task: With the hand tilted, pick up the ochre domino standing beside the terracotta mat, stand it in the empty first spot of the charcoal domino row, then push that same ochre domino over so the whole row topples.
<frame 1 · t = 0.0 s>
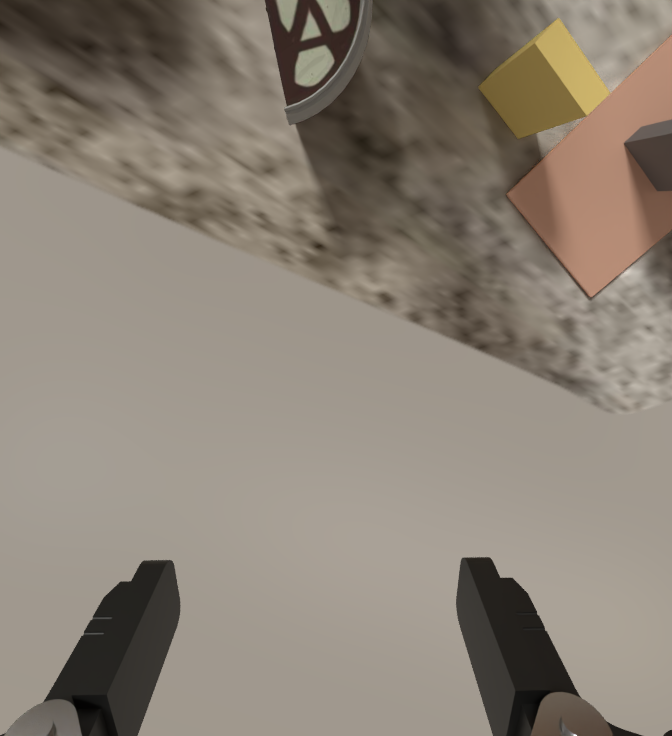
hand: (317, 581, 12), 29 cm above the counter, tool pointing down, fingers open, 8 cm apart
ochre domino: (506, 105, 34), on the counter
charcoal domino 2: (649, 159, 35), resting on terracotta mat
food container: (320, 41, 33), on the counter
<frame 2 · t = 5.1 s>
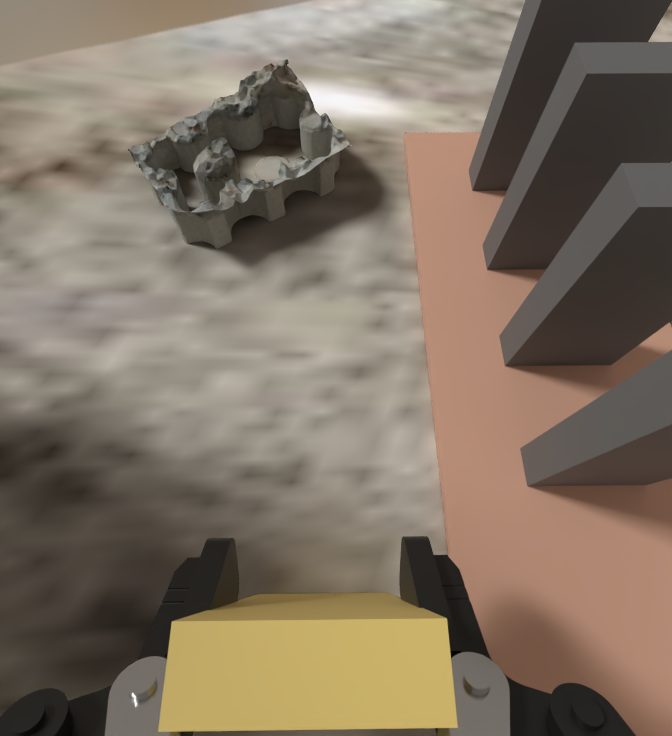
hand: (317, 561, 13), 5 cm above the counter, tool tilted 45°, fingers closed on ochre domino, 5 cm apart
egg carton: (251, 189, 26), on the counter
ochre domino: (322, 616, 17), on the counter, touching gripper
charcoal domino 2: (582, 466, 19), resting on terracotta mat
charcoal domino 4: (531, 257, 23), resting on terracotta mat
charcoal domino 5: (513, 180, 26), resting on terracotta mat
charcoal domino 3: (554, 350, 21), resting on terracotta mat
terracotta mat: (550, 354, 21), on the counter
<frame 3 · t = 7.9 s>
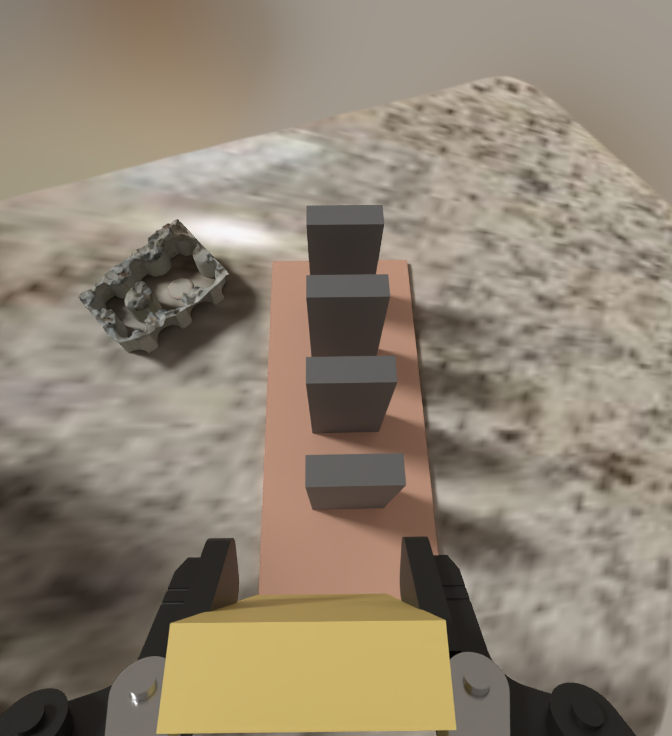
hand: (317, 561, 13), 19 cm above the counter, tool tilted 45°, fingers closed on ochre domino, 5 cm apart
egg carton: (167, 304, 39), on the counter
ochre domino: (322, 617, 17), point 14 cm above the counter, touching gripper
charcoal domino 2: (347, 497, 31), resting on terracotta mat
charcoal domino 4: (343, 356, 36), resting on terracotta mat
charcoal domino 5: (341, 298, 38), resting on terracotta mat
charcoal domino 3: (345, 422, 34), resting on terracotta mat
terracotta mat: (345, 423, 34), on the counter
when the fingers open (6 cm above the counter, at t = 10.8 s): ochre domino stays where it is, resting on terracotta mat.
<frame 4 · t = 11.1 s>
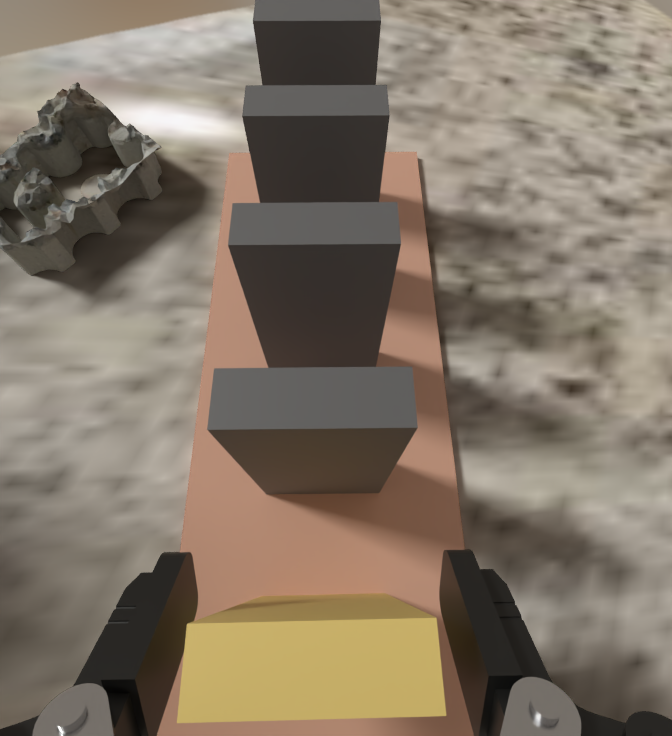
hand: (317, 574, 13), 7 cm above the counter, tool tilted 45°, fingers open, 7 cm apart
egg carton: (83, 210, 28), on the counter
ochre domino: (323, 617, 18), resting on terracotta mat
charcoal domino 2: (322, 475, 20), resting on terracotta mat
charcoal domino 4: (323, 274, 25), resting on terracotta mat
charcoal domino 5: (323, 199, 27), resting on terracotta mat
charcoal domino 3: (322, 364, 22), resting on terracotta mat
terracotta mat: (323, 367, 23), on the counter
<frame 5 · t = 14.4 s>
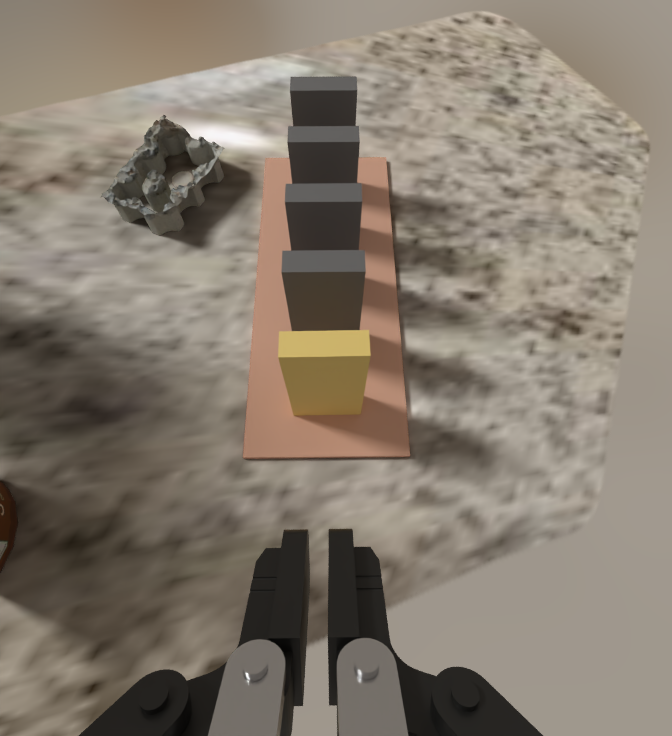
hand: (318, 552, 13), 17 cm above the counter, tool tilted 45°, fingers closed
egg carton: (176, 195, 43), on the counter
ochre domino: (327, 404, 33), resting on terracotta mat
charcoal domino 2: (326, 339, 36), resting on terracotta mat
charcoal domino 4: (326, 232, 40), resting on terracotta mat
charcoal domino 5: (325, 187, 43), resting on terracotta mat
charcoal domino 3: (326, 282, 38), resting on terracotta mat
terracotta mat: (326, 285, 38), on the counter
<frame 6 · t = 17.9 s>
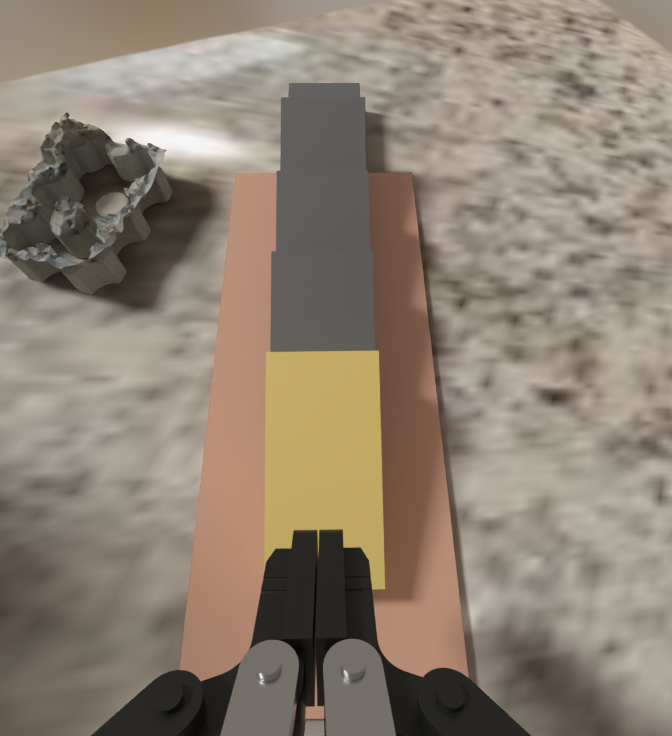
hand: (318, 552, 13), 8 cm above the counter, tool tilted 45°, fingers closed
egg carton: (106, 229, 29), on the counter
ochre domino: (325, 583, 19), point 1 cm above the counter, tilted 73°, touching charcoal domino 2, terracotta mat
charcoal domino 2: (323, 455, 21), point 1 cm above the counter, tilted 73°, touching charcoal domino 3, ochre domino, terracotta mat
charcoal domino 4: (323, 264, 26), point 1 cm above the counter, tilted 72°, touching charcoal domino 3, charcoal domino 5, terracotta mat
charcoal domino 5: (323, 197, 28), point 1 cm above the counter, tilted 90°, touching charcoal domino 4, terracotta mat
charcoal domino 3: (323, 353, 24), point 1 cm above the counter, tilted 73°, touching charcoal domino 2, charcoal domino 4, terracotta mat
terracotta mat: (323, 378, 24), on the counter
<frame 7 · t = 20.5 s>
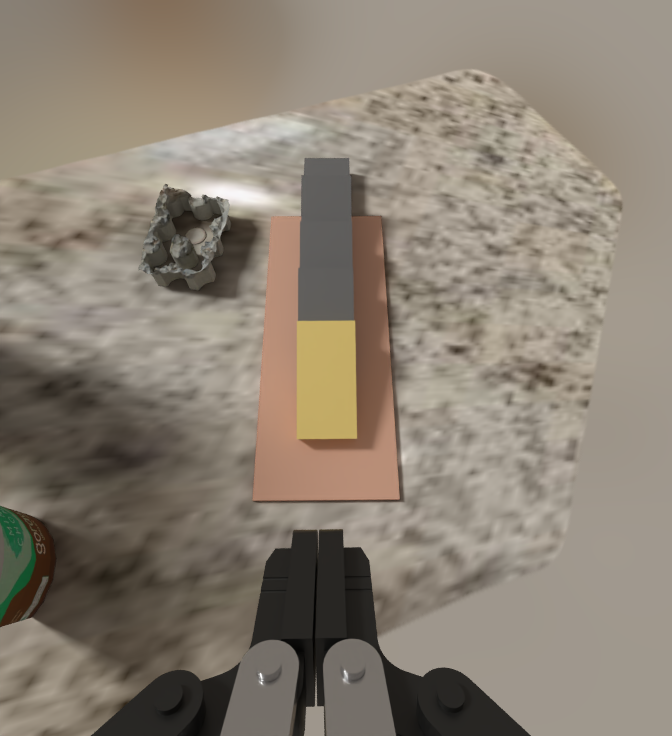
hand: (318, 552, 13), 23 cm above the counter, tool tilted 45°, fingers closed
egg carton: (194, 251, 48), on the counter
ochre domino: (327, 438, 37), point 1 cm above the counter, tilted 73°, touching charcoal domino 2, terracotta mat
charcoal domino 2: (326, 378, 40), point 1 cm above the counter, tilted 73°, touching charcoal domino 3, ochre domino, terracotta mat
food container: (24, 543, 35), on the counter
charcoal domino 4: (326, 274, 44), point 1 cm above the counter, tilted 72°, touching charcoal domino 3, charcoal domino 5, terracotta mat
charcoal domino 5: (326, 232, 47), point 1 cm above the counter, tilted 90°, touching charcoal domino 4, terracotta mat
charcoal domino 3: (326, 325, 42), point 1 cm above the counter, tilted 73°, touching charcoal domino 2, charcoal domino 4, terracotta mat
terracotta mat: (326, 339, 43), on the counter
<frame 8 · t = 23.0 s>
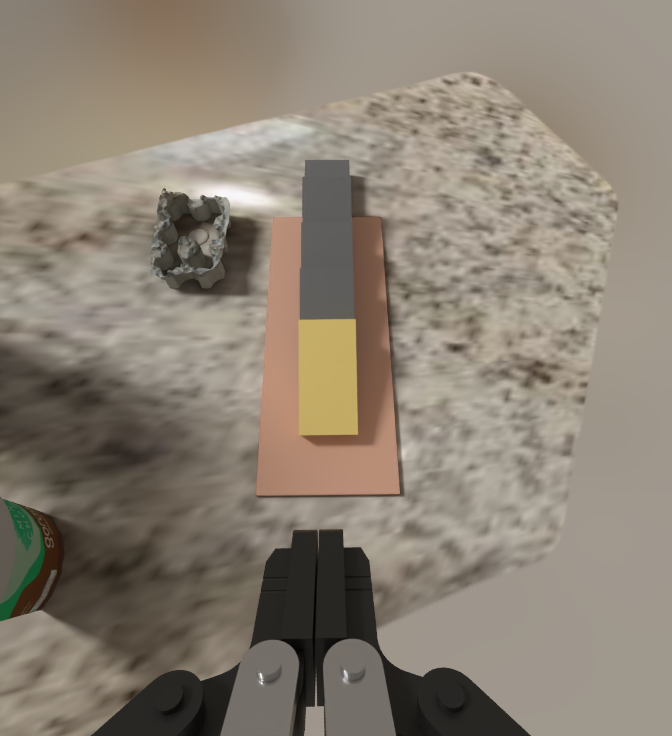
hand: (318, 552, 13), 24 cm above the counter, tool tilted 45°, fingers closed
egg carton: (199, 251, 48), on the counter
ochre domino: (328, 434, 38), point 1 cm above the counter, tilted 73°, touching charcoal domino 2, terracotta mat
charcoal domino 2: (327, 375, 41), point 1 cm above the counter, tilted 73°, touching charcoal domino 3, ochre domino, terracotta mat
food container: (32, 537, 36), on the counter
charcoal domino 4: (327, 273, 45), point 1 cm above the counter, tilted 72°, touching charcoal domino 3, charcoal domino 5, terracotta mat
charcoal domino 5: (327, 233, 47), point 1 cm above the counter, tilted 90°, touching charcoal domino 4, terracotta mat
charcoal domino 3: (327, 323, 43), point 1 cm above the counter, tilted 73°, touching charcoal domino 2, charcoal domino 4, terracotta mat
terracotta mat: (327, 337, 43), on the counter
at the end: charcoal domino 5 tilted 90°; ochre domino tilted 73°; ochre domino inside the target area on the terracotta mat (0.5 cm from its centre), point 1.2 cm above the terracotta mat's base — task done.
